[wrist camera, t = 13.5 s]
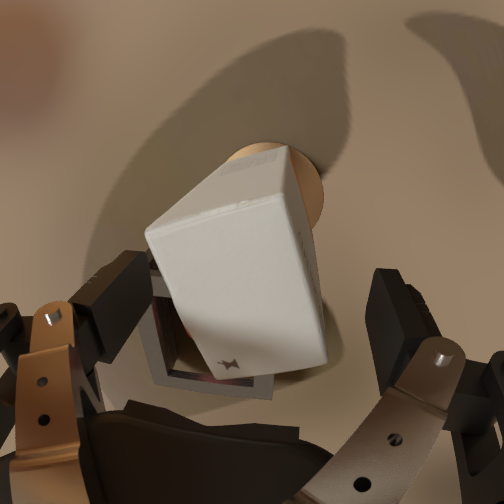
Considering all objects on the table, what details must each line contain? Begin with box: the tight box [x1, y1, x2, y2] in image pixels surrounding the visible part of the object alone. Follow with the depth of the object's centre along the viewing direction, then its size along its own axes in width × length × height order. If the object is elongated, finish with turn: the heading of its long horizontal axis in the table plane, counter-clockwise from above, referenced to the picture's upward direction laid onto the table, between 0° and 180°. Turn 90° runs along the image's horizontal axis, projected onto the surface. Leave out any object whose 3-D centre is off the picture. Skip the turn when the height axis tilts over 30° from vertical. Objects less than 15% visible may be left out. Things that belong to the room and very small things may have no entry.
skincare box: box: [145, 146, 328, 380], centre depth 14 cm, size 6×4×12 cm
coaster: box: [226, 142, 324, 229], centre depth 20 cm, size 7×7×1 cm
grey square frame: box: [138, 248, 275, 400], centre depth 23 cm, size 10×11×4 cm
